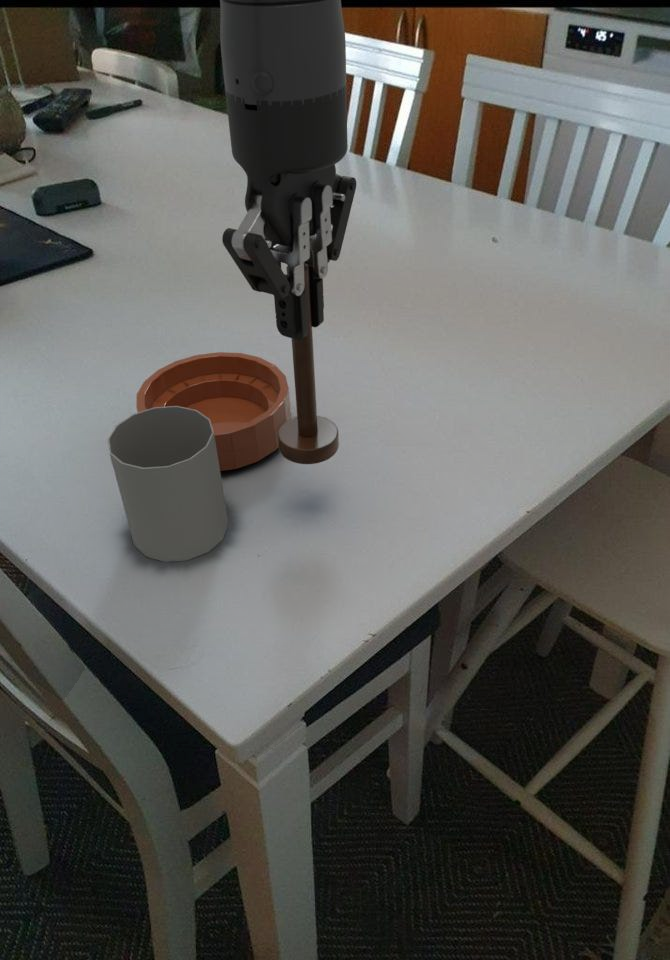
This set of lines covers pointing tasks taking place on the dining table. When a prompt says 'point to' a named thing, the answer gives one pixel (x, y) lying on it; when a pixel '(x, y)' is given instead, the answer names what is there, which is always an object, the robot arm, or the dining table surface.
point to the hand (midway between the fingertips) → (301, 328)
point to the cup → (170, 482)
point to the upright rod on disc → (307, 405)
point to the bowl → (226, 401)
